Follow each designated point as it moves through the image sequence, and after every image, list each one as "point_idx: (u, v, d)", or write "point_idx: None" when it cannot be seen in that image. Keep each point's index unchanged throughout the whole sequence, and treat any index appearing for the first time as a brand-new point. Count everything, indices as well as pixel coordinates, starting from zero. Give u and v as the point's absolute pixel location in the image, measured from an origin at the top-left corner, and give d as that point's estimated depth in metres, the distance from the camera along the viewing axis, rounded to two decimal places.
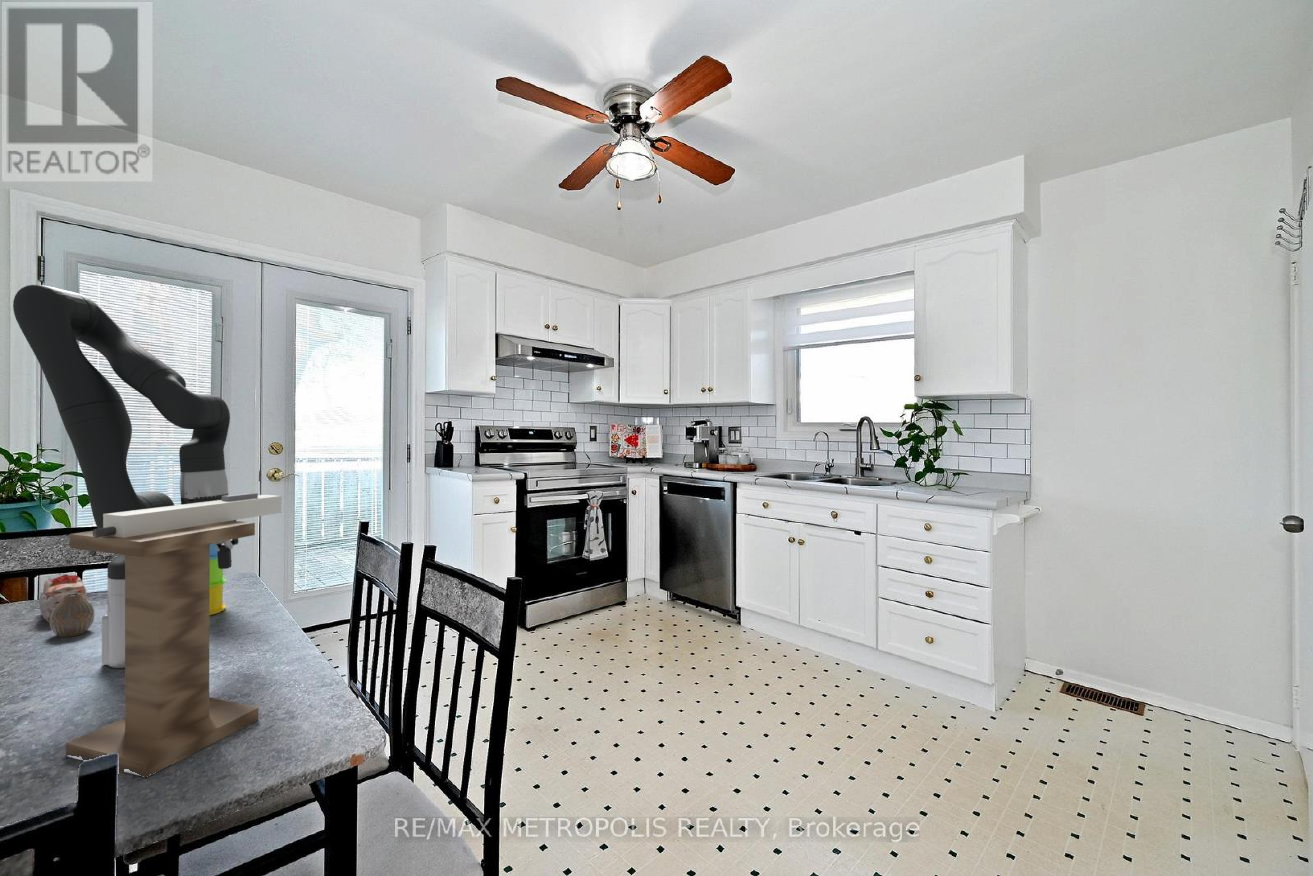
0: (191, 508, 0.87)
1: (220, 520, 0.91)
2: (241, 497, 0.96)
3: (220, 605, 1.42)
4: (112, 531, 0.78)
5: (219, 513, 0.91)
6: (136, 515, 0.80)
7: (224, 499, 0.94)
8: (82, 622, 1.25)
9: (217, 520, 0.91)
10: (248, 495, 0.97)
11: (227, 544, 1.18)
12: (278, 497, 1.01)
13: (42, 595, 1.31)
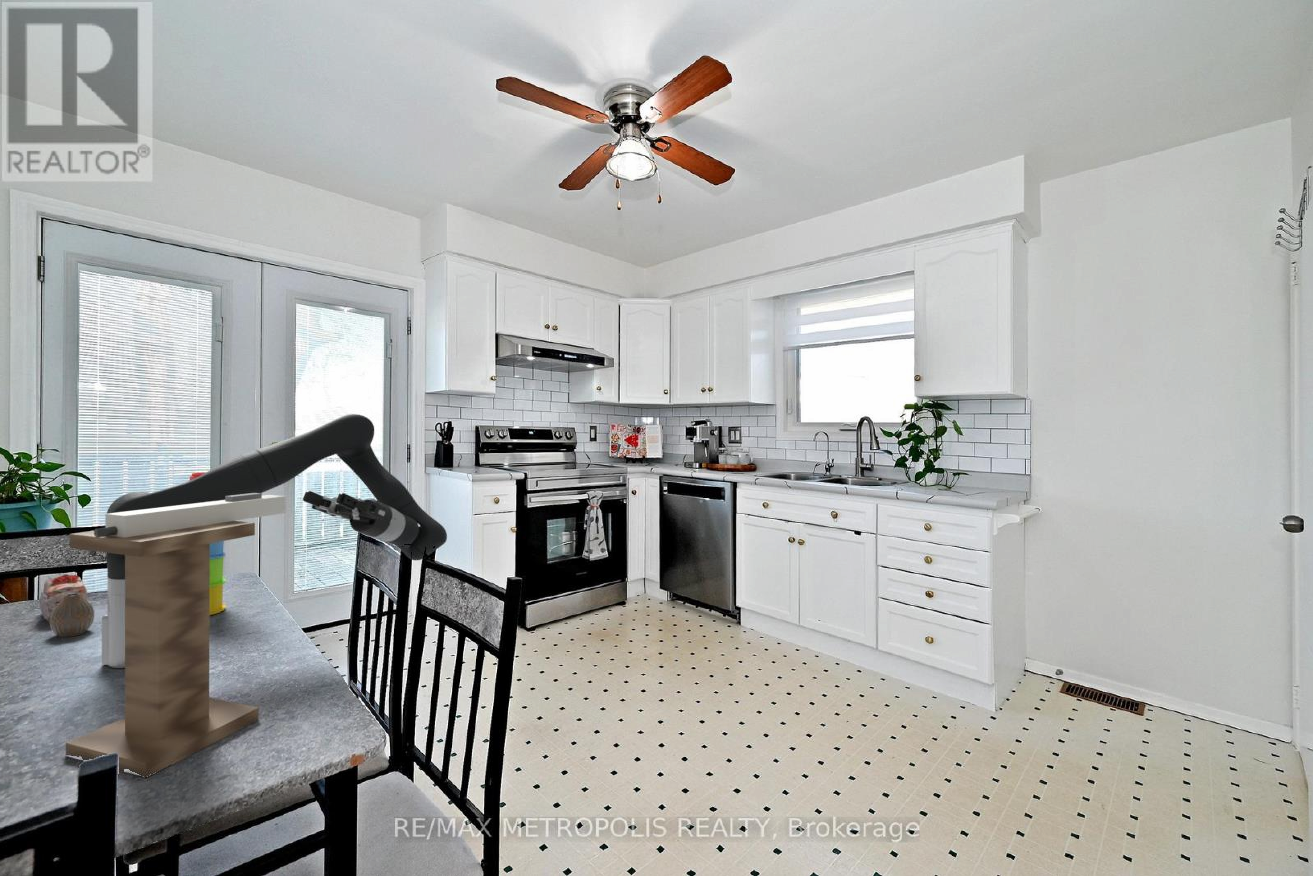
0: (193, 508, 0.87)
1: (223, 520, 0.91)
2: (245, 497, 0.96)
3: (220, 605, 1.42)
4: (113, 531, 0.79)
5: (221, 514, 0.91)
6: (137, 515, 0.80)
7: (227, 499, 0.94)
8: (82, 622, 1.25)
9: (220, 520, 0.91)
10: (251, 495, 0.97)
11: (325, 509, 1.17)
12: (282, 497, 1.01)
13: (43, 595, 1.31)
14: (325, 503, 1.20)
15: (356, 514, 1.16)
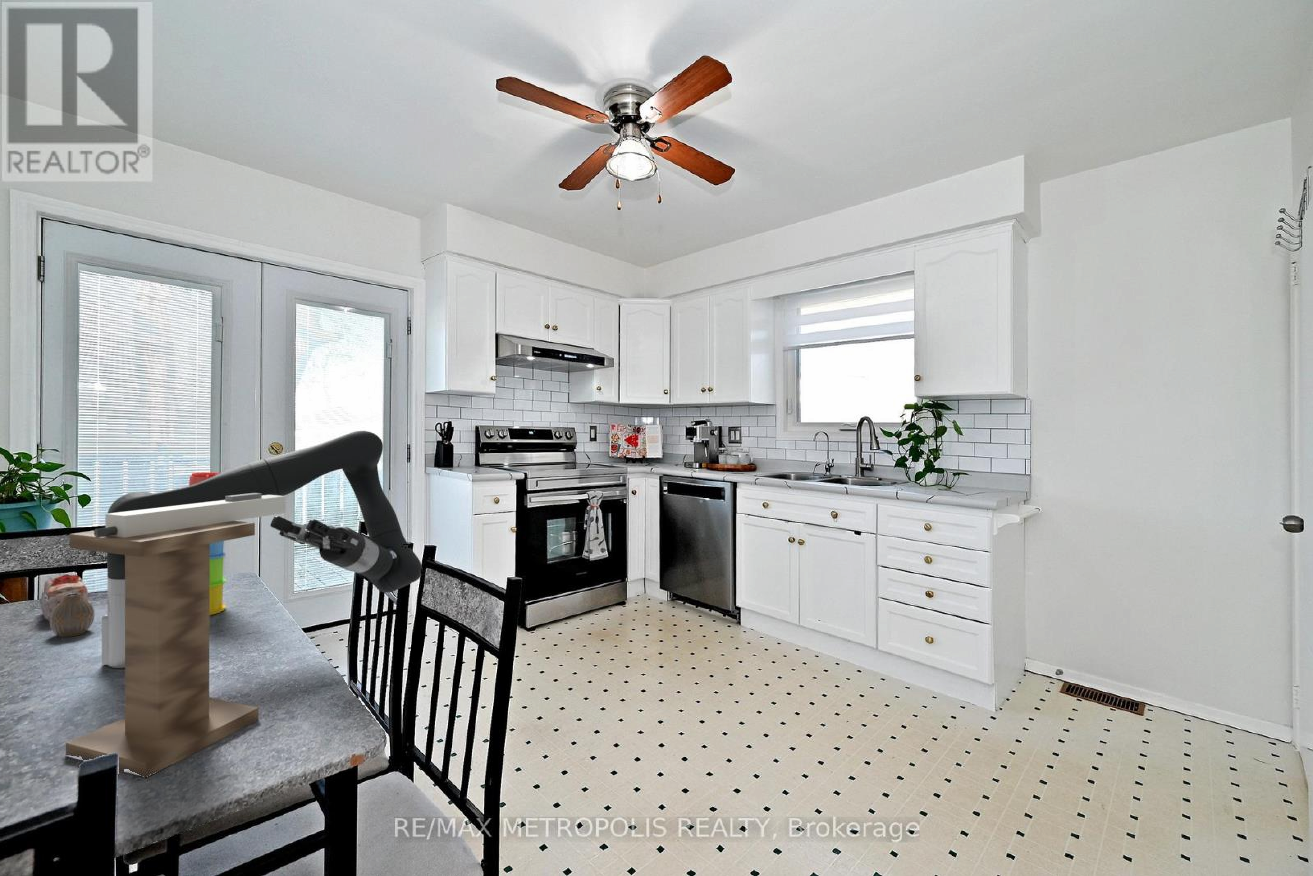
0: (193, 508, 0.87)
1: (223, 520, 0.91)
2: (245, 497, 0.96)
3: (220, 605, 1.42)
4: (113, 531, 0.79)
5: (221, 514, 0.91)
6: (137, 515, 0.80)
7: (227, 499, 0.94)
8: (82, 622, 1.25)
9: (220, 520, 0.91)
10: (251, 495, 0.97)
11: (293, 536, 1.11)
12: (282, 497, 1.01)
13: (43, 595, 1.31)
14: (294, 530, 1.14)
15: (327, 542, 1.09)
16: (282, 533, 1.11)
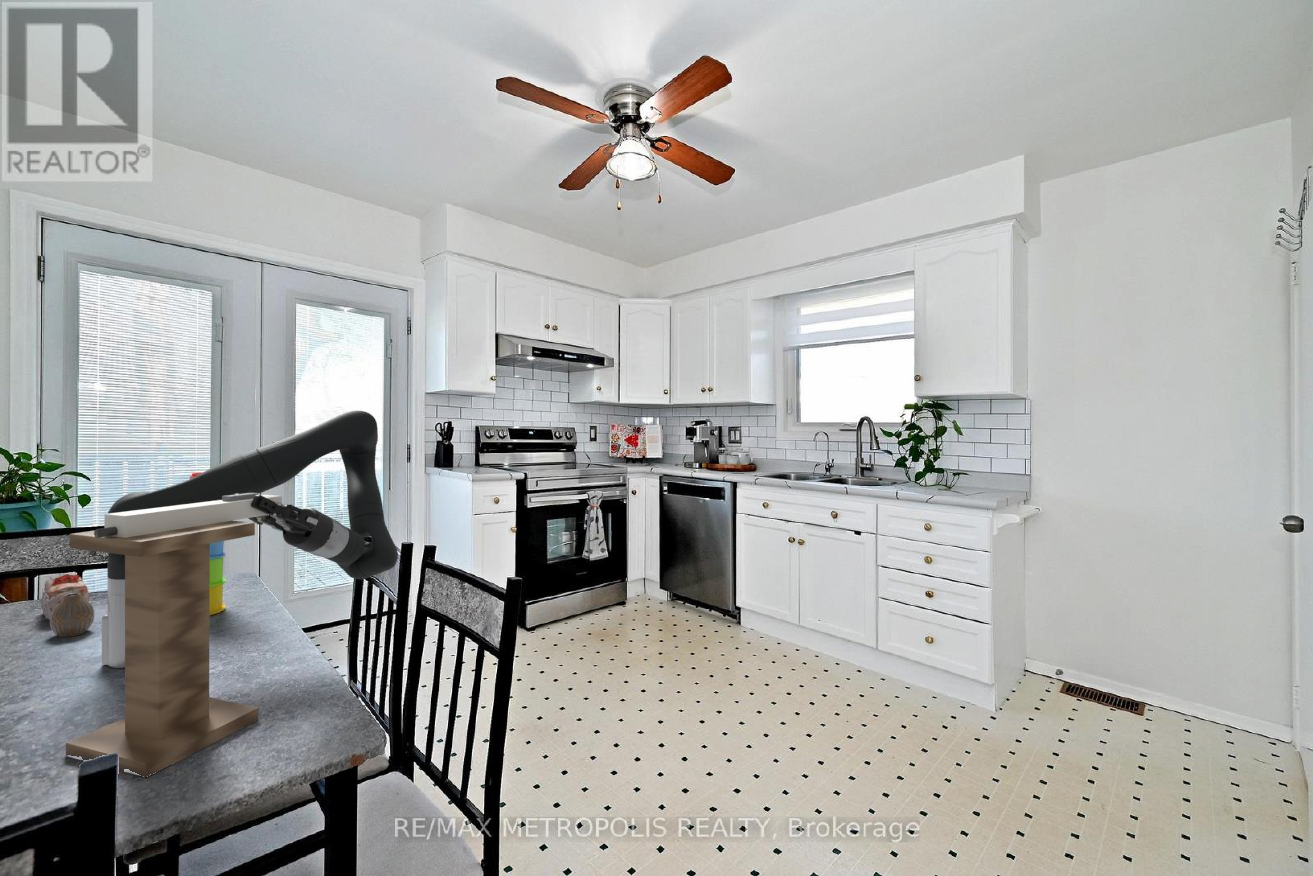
0: (192, 508, 0.87)
1: (221, 520, 0.91)
2: (242, 497, 0.96)
3: (220, 605, 1.42)
4: (114, 531, 0.78)
5: (220, 513, 0.91)
6: (137, 515, 0.80)
7: (225, 499, 0.94)
8: (82, 622, 1.25)
9: (218, 520, 0.91)
10: (248, 495, 0.97)
11: None
12: (278, 497, 1.01)
13: (44, 595, 1.31)
14: None
15: (280, 522, 1.01)
16: None
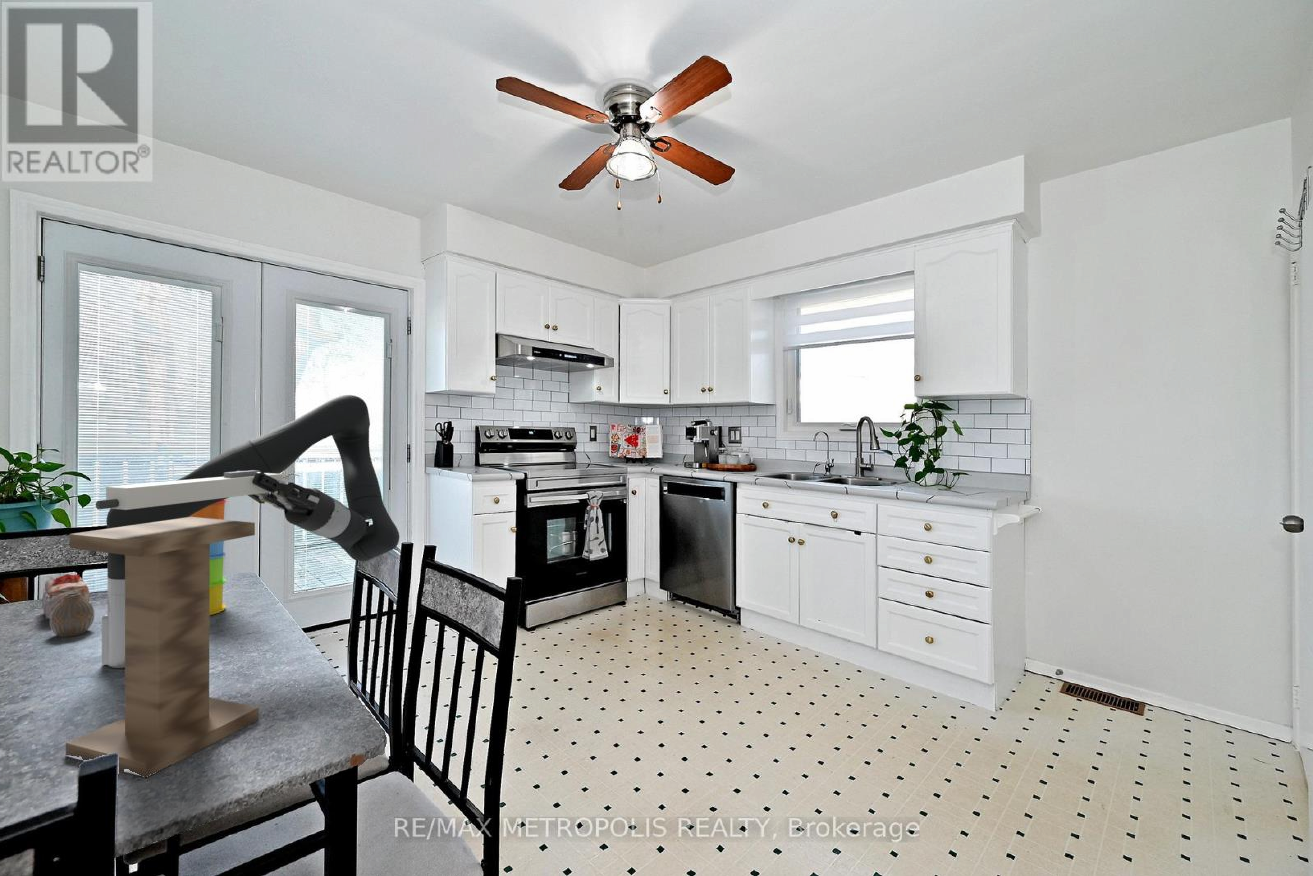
0: (193, 483, 0.87)
1: (222, 496, 0.91)
2: (243, 474, 0.96)
3: (220, 605, 1.42)
4: (115, 503, 0.79)
5: (221, 489, 0.91)
6: (139, 488, 0.80)
7: (226, 475, 0.94)
8: (82, 622, 1.25)
9: (219, 496, 0.91)
10: (250, 472, 0.97)
11: (258, 494, 1.02)
12: (280, 475, 1.01)
13: (45, 594, 1.31)
14: None
15: (281, 500, 1.01)
16: None
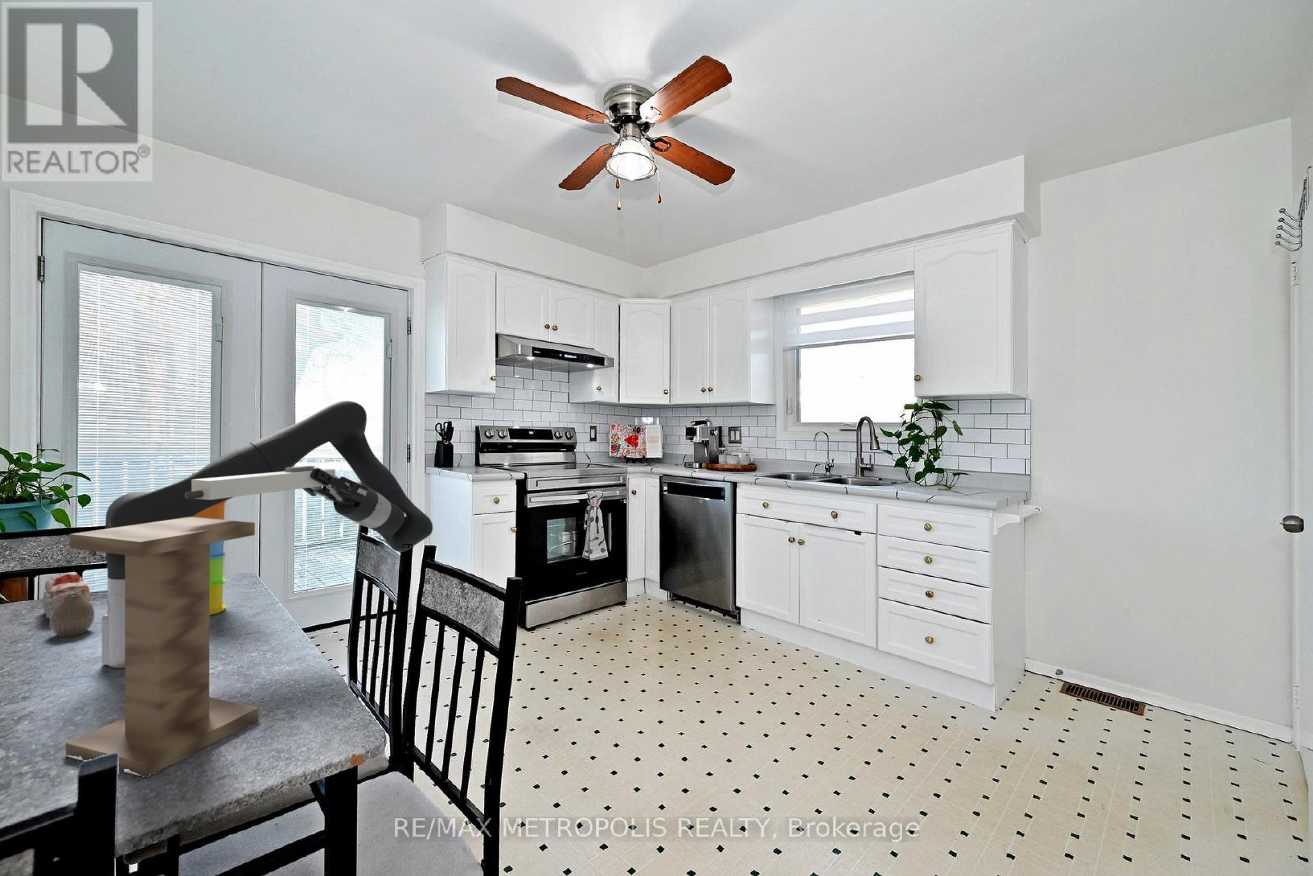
0: (263, 476, 0.98)
1: (286, 488, 1.02)
2: (302, 469, 1.07)
3: (220, 605, 1.42)
4: (200, 494, 0.90)
5: (285, 482, 1.02)
6: (220, 480, 0.91)
7: (287, 470, 1.05)
8: (82, 622, 1.25)
9: (283, 488, 1.02)
10: (307, 467, 1.08)
11: (313, 487, 1.12)
12: (332, 470, 1.12)
13: (46, 594, 1.31)
14: None
15: (334, 492, 1.12)
16: None
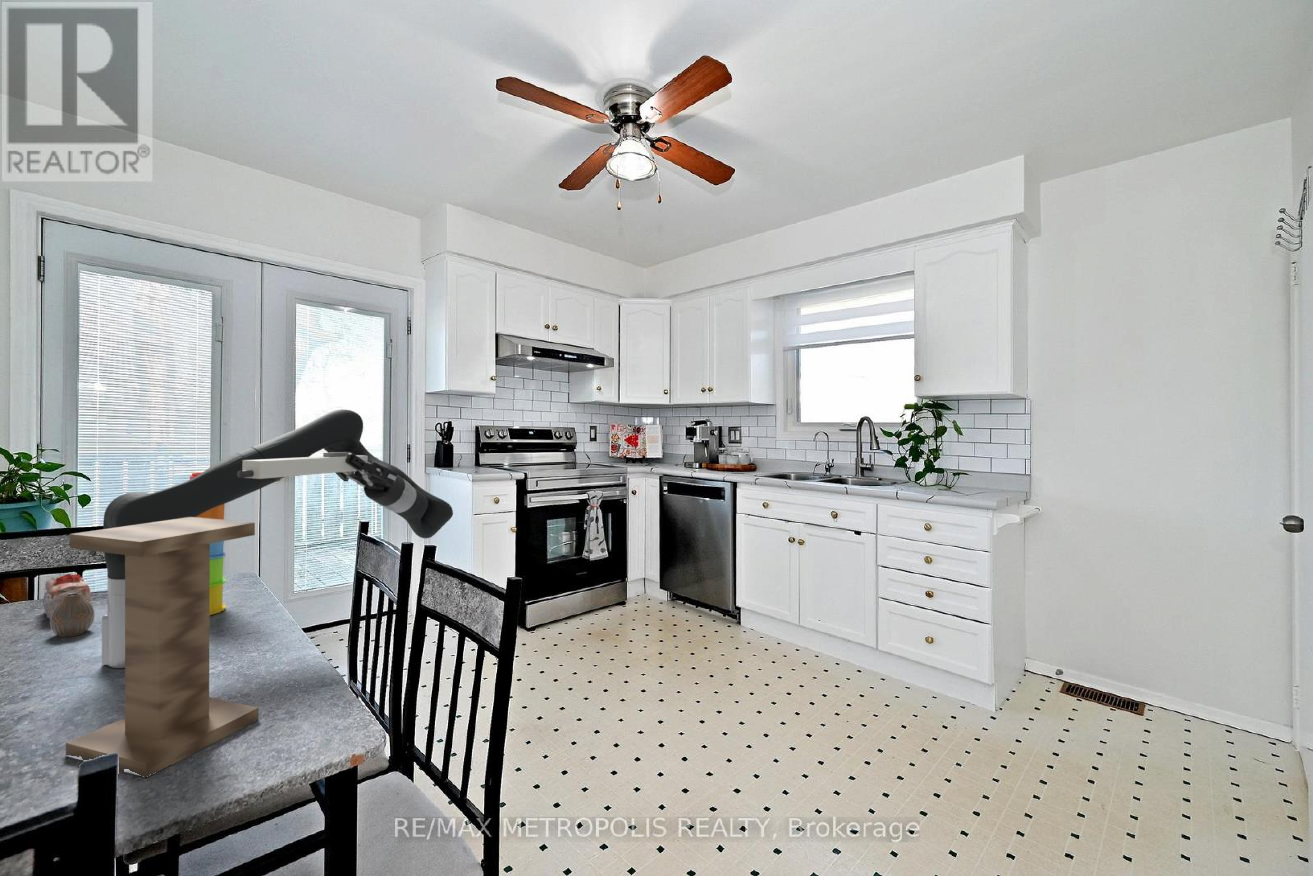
0: (305, 459, 1.06)
1: (324, 471, 1.10)
2: (338, 454, 1.15)
3: (220, 605, 1.42)
4: (251, 473, 0.97)
5: (323, 466, 1.10)
6: (268, 461, 0.99)
7: (325, 455, 1.13)
8: (82, 622, 1.25)
9: (322, 471, 1.10)
10: (343, 453, 1.16)
11: (346, 472, 1.20)
12: (365, 456, 1.20)
13: (46, 594, 1.32)
14: None
15: (366, 477, 1.20)
16: None
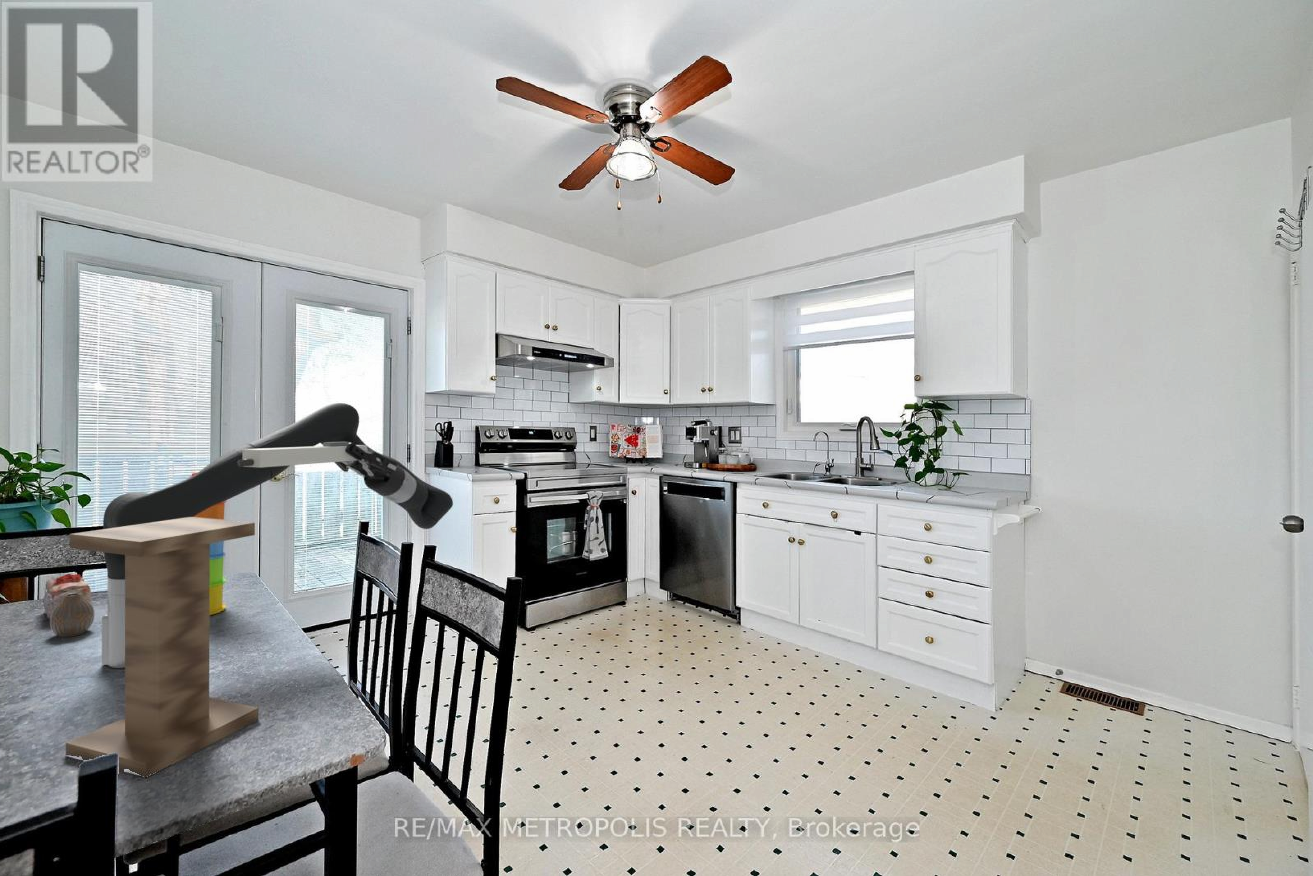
0: (305, 449, 1.06)
1: (324, 461, 1.10)
2: (338, 444, 1.15)
3: (220, 605, 1.42)
4: (251, 462, 0.97)
5: (323, 455, 1.10)
6: (268, 450, 0.99)
7: (325, 445, 1.13)
8: (82, 622, 1.25)
9: (322, 461, 1.10)
10: (342, 443, 1.16)
11: (346, 462, 1.20)
12: (365, 446, 1.20)
13: (47, 594, 1.32)
14: None
15: (366, 467, 1.20)
16: None
